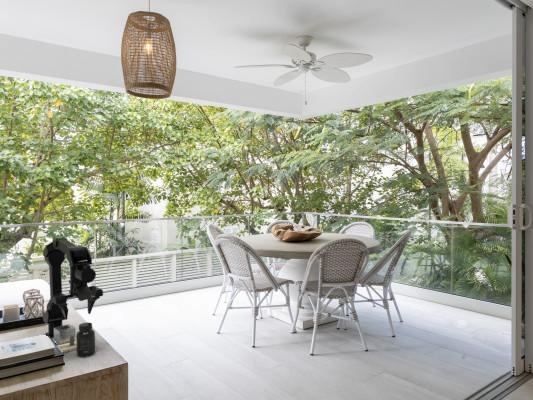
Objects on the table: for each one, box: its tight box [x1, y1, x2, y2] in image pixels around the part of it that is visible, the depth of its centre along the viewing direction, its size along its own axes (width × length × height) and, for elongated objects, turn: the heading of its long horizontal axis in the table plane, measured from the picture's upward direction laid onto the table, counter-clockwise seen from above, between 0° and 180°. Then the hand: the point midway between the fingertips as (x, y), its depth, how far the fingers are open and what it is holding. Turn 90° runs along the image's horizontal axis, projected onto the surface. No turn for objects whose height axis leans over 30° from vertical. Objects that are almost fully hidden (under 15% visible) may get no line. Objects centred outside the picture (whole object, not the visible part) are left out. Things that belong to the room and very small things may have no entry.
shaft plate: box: [59, 335, 77, 353], centre depth 174 cm, size 7×10×5 cm
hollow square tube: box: [53, 323, 76, 346], centre depth 179 cm, size 6×6×6 cm
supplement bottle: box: [75, 322, 96, 358], centre depth 167 cm, size 7×7×12 cm
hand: (77, 316), depth 171 cm, fingers open, 9 cm apart
